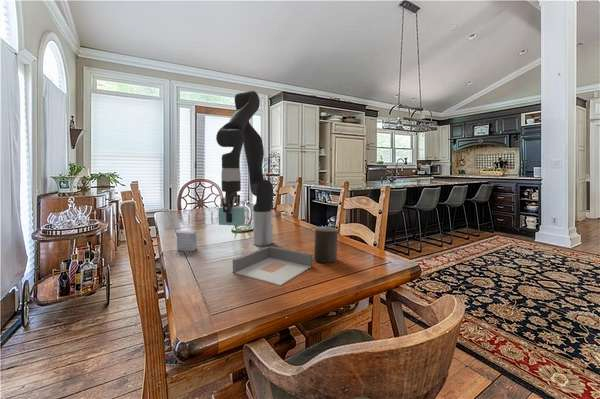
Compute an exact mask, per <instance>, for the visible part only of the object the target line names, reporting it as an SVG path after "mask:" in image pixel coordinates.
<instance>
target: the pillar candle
mask: <svg viewBox="0 0 600 399" xmlns="http://www.w3.org/2000/svg"><path fill="white" fill-rule="evenodd" d="M338 235H339V230H338V228H336V227H331V226H317V227H315V228H314V253H313V255H314V256H313V260H314V261H315V260H316V261H318V262H317V263H319V262H321V264H324V263H329V264H332V263H331V262H335V261H336V260H337V261H338ZM316 261H315V262H316ZM337 261H336V262H337ZM336 262H335V263H336Z"/></svg>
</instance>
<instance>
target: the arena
mask: <svg viewBox="0 0 600 399" xmlns="http://www.w3.org/2000/svg"><path fill="white" fill-rule="evenodd" d="M313 255H314V253H313V254H312V253H307V252H303V251H298V250H292V249H288V248H281V247H276V246H271V245H266V246H263V247H261V248H259V249H257V250H254V251H251V252H249V253H246V254H244V255H241V256H239V257H238V256H237V257H235V258H233V259H232V273H234V274H238V275H241V276H245V277H248V278H251V279H256V280H259V281H261V282H266V283H268V284H269V283H270V284H272V285H277V286H280V287H281V286H282V285H284V284H286V283H288V282H290V281H291V280H292V279H294V278H295V277H298V276H299V275H301V274H302V273H304V272H305V270H306V271H307V270H309V269H310V268H312V267H313V260H314V256H313ZM311 266H312V267H311ZM308 268H309V269H308Z"/></svg>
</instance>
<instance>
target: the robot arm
mask: <svg viewBox="0 0 600 399" xmlns="http://www.w3.org/2000/svg"><path fill="white" fill-rule="evenodd" d="M234 104H235V105H234V106H235V109H236V111H235V112H234V113H233V114H232V115H231V116H230V118H229V121H228V122H226V123H225V124H224V125H223V126H221V127H220V128H219V130H217V133H216V137H215V140H216V143H217V144H218V146H220V147H221V148H232V150H231V151H229V152H226V153H223V154H222V155H221V172H220V173H221V175H220V176H221V177H220V178H221V179H220V180H221V191H222V192H224V193H225V195H224V197H222V198H221V204H222V206H223V212H225V213H226V222H227V223H231V222H232V208H233V207H234V206H241V195H240V194H238V192H241V191H242V188H241V187H242V178H241V177H242V176H241V166H240V164H241V162H240V161H241V160H240V159H241V154H242V149H243V147H244V153H245V158H246V164H247V168H248V169H247V170H248V176H249V187H250V191H251V194H252V195H253V196H254V197H256V198H255V199H256V200H255V203H254V204H253V206H252V217H253V222H252V225H253V229H252V230H253V236H252V238H253V245H255V246H259V247H262V246H263V247H266V246H271V244H272V243H273V224H272V206H273V205H274V203H273V202H274V186H273V184H272V182H271V181H270V180H269V179H265V178H264V173H263V162H264V156H265V151H264V144H263V139H262V137H261V135H260V134H259V132H258V131H256V129H255V128H254V127H253V125H252V124H251V123H250V120H251V119H252V117H253V116H254V115H255V114H256V113H257V111H258V110H259V109H260V106H261V100H260V97H259V95H258V93H257V92H256V91H254V90H248V91H242V92H238V93H236V94H235V95H234ZM222 206H221V207H222ZM225 207H226V208H225ZM227 208H228V209H227Z"/></svg>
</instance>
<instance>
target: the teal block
mask: <svg viewBox="0 0 600 399" xmlns="http://www.w3.org/2000/svg"><path fill="white" fill-rule="evenodd" d="M225 208H226V207H225ZM227 209H228V208H227ZM217 210H218V225H219V226H238V227H239V226H240V227H241V226H242V225H244V224H245V205H240V206H234V207H233V208H232V222H231V223H227V222H226V213H225V212H223V206H219V207H218V209H217Z"/></svg>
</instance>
